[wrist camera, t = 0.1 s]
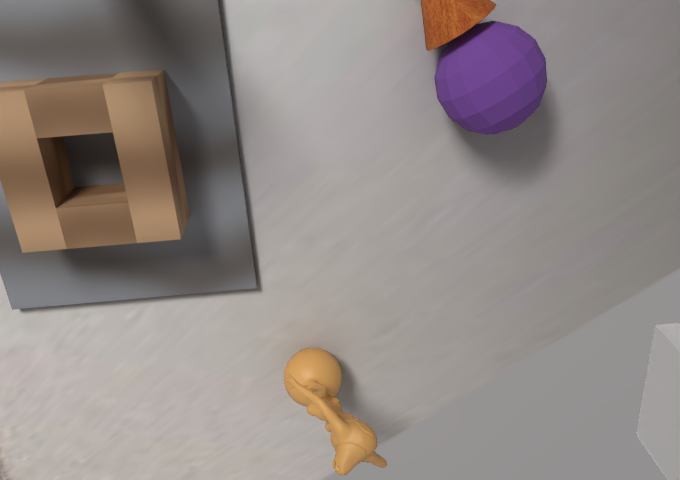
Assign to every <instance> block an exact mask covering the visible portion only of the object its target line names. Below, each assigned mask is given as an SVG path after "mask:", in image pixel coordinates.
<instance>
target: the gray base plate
mask: <svg viewBox="0 0 680 480" xmlns="http://www.w3.org/2000/svg"><path fill="white" fill-rule="evenodd" d="M0 273H1V277H2V280H3V283H4V286H5V289H6V292H7V295H8V298H9V301H10V304H11V307H12V309H24V308H35V307H46V306H58V305H69V304H81V303H92V302H104V301H115V300H127V299H138V298H150V297H161V296H172V295H184V294H195V293H207V292H218V291H230V290H241V289H253V288H257V279H256V271H255V264H254V257H253V249H252V242H251V235H250V227H249V220H248V212H247V205H246V198H245V190H244V183H243V175H242V168H241V161H240V153H239V146H238V139H237V131H236V124H235V116H234V109H233V102H232V94H231V87H230V80H229V72H228V65H227V57H226V50H225V43H224V35H223V28H222V21H221V13H220V6H219V0H0Z"/></svg>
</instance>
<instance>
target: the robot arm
mask: <svg viewBox="0 0 680 480" xmlns="http://www.w3.org/2000/svg"><path fill="white" fill-rule="evenodd" d="M636 435H637V437H638V439H639V440H640V441H641V443H642V444H643V446H644V447H645V448H646V450H647V451H648V453H649V454H650V456H651V457H652V458H653V460H654V461H655V463H656V464H657V466H658V467H659V468H660V470H661V471H662V473H663V474H664V476H665V477H666V478H667V480H680V323H670V324H661V325H660V324H659V325H655V326H654V332H653V338H652V344H651V350H650V356H649V362H648V368H647V375H646V380H645V386H644V393H643V398H642V404H641V410H640V416H639V422H638V428H637V434H636ZM0 480H4V479H3V477H2V474H1V472H0Z"/></svg>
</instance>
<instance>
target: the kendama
mask: <svg viewBox="0 0 680 480" xmlns="http://www.w3.org/2000/svg"><path fill="white" fill-rule="evenodd" d="M495 6H496V4H495V3H493V2H492V1H490V0H421V7H422V15H423V24H424V33H425V42H426V50H428V51H429V50H432V49H436V48H438V47H440V46H442V45H444V44H446V43H448V42H450V41H451V42H450V43H449V44H448V46H447V47H446V48H445V50H444V51H443V52H442V54H441V56H440V59H439V62H438V66H437V70H436V74H435V84H436V91H437V98H438V100H439V102H440V103H441V105H442V106H443V108H444V110H445V111H446V113H447V115H448V116H449V117H450V118H451V119H452V120H453V121H455V122H456V123H458V124H459V125H461V126H462V127H463V128H465V129H466V130H468V131H472V132H477V133H483V134H496V133H499V132H503V131H506V130H509V129H512V128H515V127H517V126H518V125H520V124H521V123H522V122H524V121H525V120H526V119H527V118H528V117H529V116H530V115H531V114H532V113H533V112H534V111H535V110H536V108H537V107H538V106H539V104H540V101H541V98H542V96H543V93H544V90H545V87H546V82H547V76H546V61H545V57H544V55H543V53H542V51H541V49H540V48H539V46H538V44H537V42H536V40H535V39H534V38H533V37H531V36H530V35H529V34H527V33H526V32H525V31H523V30H522V29H521V28H519V27H518V26H514V25H510V24H505V23H500V22H496V21H490V22H486V23H481V24H477V23H478V22H480V21H481V20H482V19H483V18H485V17H486V16H487V15H488V14H489V13H490V12H491V11H492V10H493V9H494V8H495ZM476 24H477V25H476Z"/></svg>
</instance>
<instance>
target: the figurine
mask: <svg viewBox="0 0 680 480" xmlns="http://www.w3.org/2000/svg"><path fill="white" fill-rule="evenodd" d="M341 381H342V373H341V369H340V366H339V364H338V362H337V360H336V359H335V358H334V357H333V356H332V355H331V354H330V353H328V352H327V351H325V350H322V349H318V348H308V349H304V350H301V351H299V352H298V353H296V354H295V355H294V356H293V357H292V358H291V359H290V360H289V362H288V363H287V366H286V368H285V372H284V384H285V388H286V390H287V392H288V394H289V395H290V397H291V398H292V399H293V400H294V401H296V402H297V403H299V404H301V405H303V406H306V407H307V412H308V413H309V414H310V415H312V416H316V417H318V418H319V419H321V420H324V421H325V420H327V421H326V425H325V428H326V430H327V431H329V432H331V442H332V445H333V447H334V449H335V450H336V455H335V458H334V461H333V467H334V469H335V472H336V473H337V474H339V475H346V474H347V473H349V472H350V471H351V470H352V469H353V468H354V467H355V466H356V465H357V464H358V463H360V462H368V463H372V464H374V465H376V466H379V467H382V468H383V467H386V465H387V462H386V460H385V459H384V458H382V457H381V456H380V455H378V454H377V453H376V452H375V449H376V447H377V438H376V435H375V433H374V431H373V429H372V428H371V427H370V426H369V425H368V424H367V423H365V422H363V421H362V420H360V419H357V418H355V417H354V416H353V415H352V414H348V413H345V412H343V411H341V410H342V408H341V405H340V401H339V399H337V398H335V396H336V394H337V393H338V391H339V389H340V386H341Z"/></svg>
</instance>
